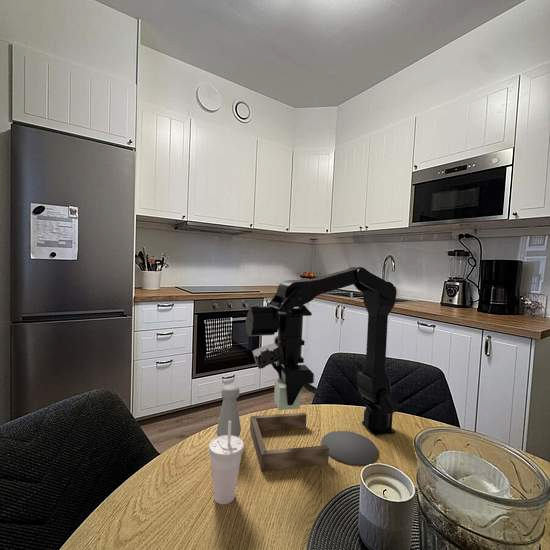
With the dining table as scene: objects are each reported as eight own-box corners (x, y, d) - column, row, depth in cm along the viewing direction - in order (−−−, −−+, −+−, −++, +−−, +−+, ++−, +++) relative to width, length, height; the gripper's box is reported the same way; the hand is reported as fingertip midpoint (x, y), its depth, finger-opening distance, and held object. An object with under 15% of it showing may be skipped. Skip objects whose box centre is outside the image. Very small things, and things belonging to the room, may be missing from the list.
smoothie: (226, 516, 51) (229, 434, 51) (198, 499, 55) (201, 422, 55) (249, 493, 57) (252, 418, 57) (222, 479, 60) (225, 409, 60)
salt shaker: (238, 448, 71) (240, 392, 71) (213, 446, 71) (216, 391, 71) (241, 434, 77) (244, 383, 76) (218, 433, 77) (221, 381, 77)
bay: (304, 425, 83) (305, 412, 82) (328, 464, 67) (329, 448, 66) (249, 429, 79) (250, 416, 79) (260, 471, 63) (261, 454, 63)
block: (293, 399, 76) (294, 379, 75) (299, 408, 71) (301, 387, 71) (274, 400, 74) (275, 379, 74) (278, 409, 70) (279, 388, 69)
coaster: (360, 431, 81) (360, 429, 81) (389, 461, 68) (389, 459, 68) (313, 434, 78) (313, 432, 78) (334, 467, 65) (334, 465, 65)
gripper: (250, 326, 80) (247, 386, 80) (263, 344, 61) (260, 422, 62) (291, 326, 82) (289, 384, 82) (316, 344, 64) (312, 418, 64)
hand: (287, 399), depth 73 cm, fingers closed on block, 5 cm apart
